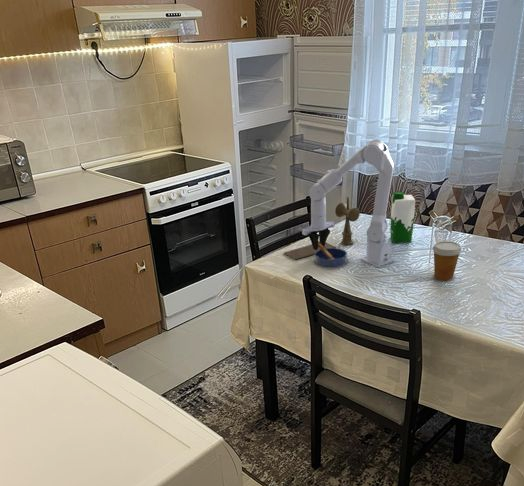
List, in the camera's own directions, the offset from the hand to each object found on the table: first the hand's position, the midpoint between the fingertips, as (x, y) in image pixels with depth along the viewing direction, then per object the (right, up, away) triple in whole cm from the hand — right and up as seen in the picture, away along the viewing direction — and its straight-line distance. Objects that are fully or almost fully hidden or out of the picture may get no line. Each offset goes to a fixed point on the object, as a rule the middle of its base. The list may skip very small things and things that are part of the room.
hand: (318, 248), depth 216 cm
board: (-3, 0, +6) cm, 7 cm away
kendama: (+13, +4, +11) cm, 18 cm away
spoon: (+3, -5, -2) cm, 6 cm away
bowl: (+4, -6, -4) cm, 9 cm away
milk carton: (+36, +5, +12) cm, 38 cm away
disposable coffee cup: (+43, -15, -22) cm, 50 cm away
